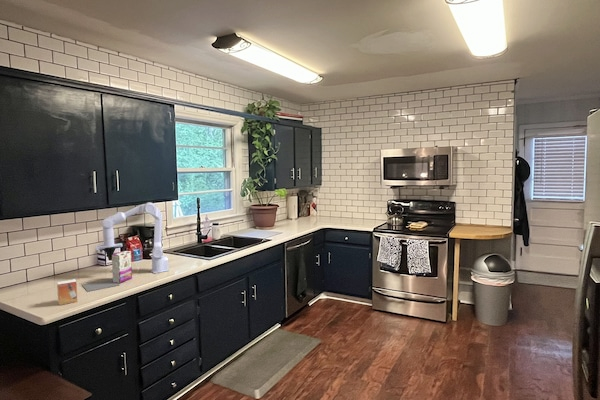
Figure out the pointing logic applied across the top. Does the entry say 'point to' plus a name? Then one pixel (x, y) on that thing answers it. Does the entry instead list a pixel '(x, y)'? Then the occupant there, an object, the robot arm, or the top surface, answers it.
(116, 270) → the candy bar box
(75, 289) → the small box
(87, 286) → the mat
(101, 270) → the top surface
